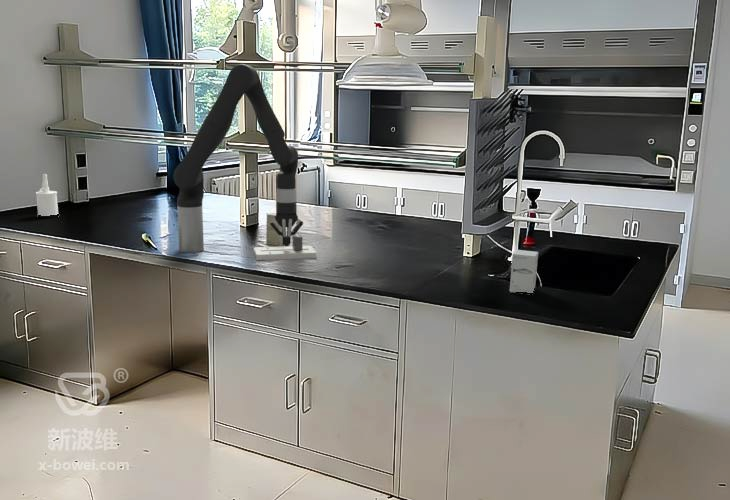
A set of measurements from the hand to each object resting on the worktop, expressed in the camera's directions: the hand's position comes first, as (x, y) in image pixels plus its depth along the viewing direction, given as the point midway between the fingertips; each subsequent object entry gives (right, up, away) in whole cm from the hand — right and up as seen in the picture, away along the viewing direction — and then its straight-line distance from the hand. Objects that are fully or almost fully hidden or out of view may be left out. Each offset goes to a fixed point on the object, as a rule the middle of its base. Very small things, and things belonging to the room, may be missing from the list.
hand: (286, 245), depth 262 cm
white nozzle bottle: (-120, +14, +67) cm, 139 cm away
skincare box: (-7, +1, +20) cm, 21 cm away
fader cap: (+4, -1, +1) cm, 4 cm away
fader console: (-1, -3, +1) cm, 4 cm away
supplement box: (+80, -15, -39) cm, 90 cm away
